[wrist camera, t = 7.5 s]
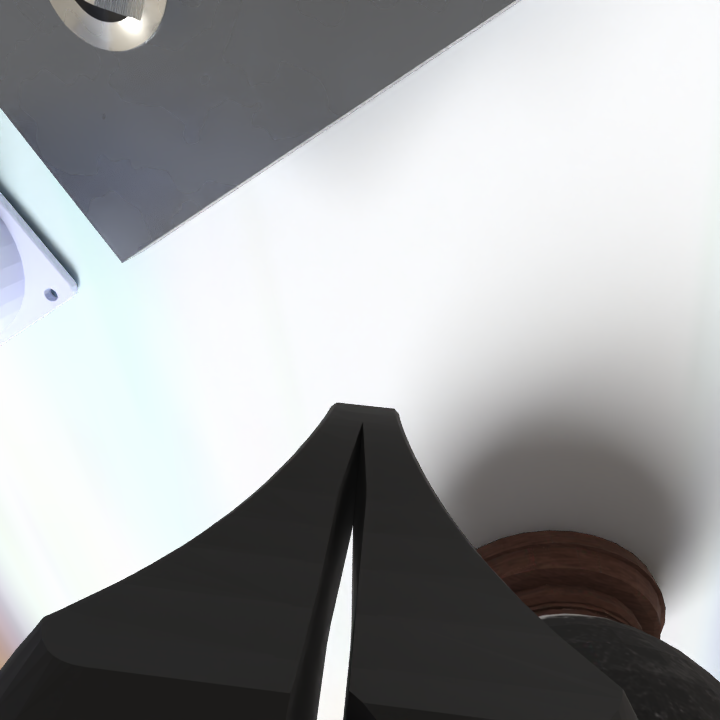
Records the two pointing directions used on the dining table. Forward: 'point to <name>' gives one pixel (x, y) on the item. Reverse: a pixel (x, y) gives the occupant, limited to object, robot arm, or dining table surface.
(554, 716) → the robot arm
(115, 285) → the dining table surface
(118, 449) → the dining table surface
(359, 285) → the dining table surface
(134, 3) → the leg
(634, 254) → the dining table surface
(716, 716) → the black ball on base
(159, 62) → the bolt plate
